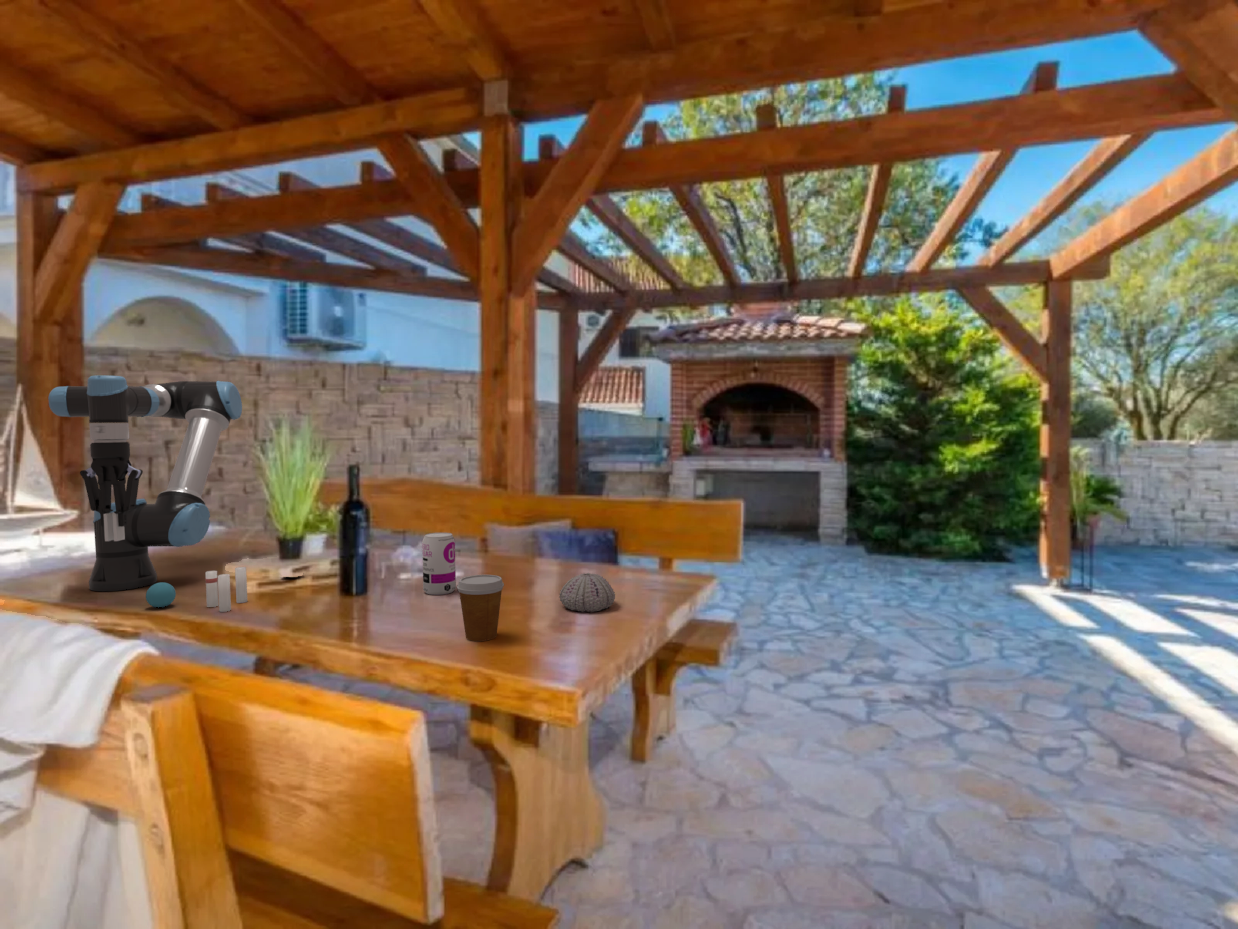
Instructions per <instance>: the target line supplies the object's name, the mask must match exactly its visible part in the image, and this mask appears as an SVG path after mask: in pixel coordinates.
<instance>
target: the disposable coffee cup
mask: <svg viewBox="0 0 1238 929" xmlns="http://www.w3.org/2000/svg"><path fill="white" fill-rule="evenodd" d="M504 586H505V584H504V582H503V578H502V577H501V576H499V575H494V574H475V575H469V576H468V575H467V576H464V577H461V578H460V579H458V584H456V589H457V591H458V592H459V599H460V606H461V612H462V613H461V614H462V620H463V627H464V634H465V638H466V639H467V640H468V641H471V642H485V641H492V640H493V639H495V638H496V637H497V636H498V629H499V628H498V627H499V618H500V609H501V601H502V600H501V599H502V591H503V589H504Z"/></svg>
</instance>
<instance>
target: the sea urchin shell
mask: <svg viewBox="0 0 1238 929" xmlns="http://www.w3.org/2000/svg"><path fill="white" fill-rule="evenodd" d="M558 598H559V601H560V602H561V604H562V606H563V605H564V607H565V608H566V609H568V610H570V611H573V612H582V613H584V612H588V613H593V612H599V611H602V610H605V609H609V607H611V606H612V605H613V604H614V602H615V599H616V593H615V591H614V588H613V587H612V585H611V584H610V583H609V581H608V580H607V578H604V577H603V576H602V575H600V574H598V573H589V572H587V573H585V572H583V573H580V574H578V575H574V576H573V577H571V578H570V579H569V580H567V582H566V583H565V584H564V585H563V586H562V589H560V592H559V597H558Z"/></svg>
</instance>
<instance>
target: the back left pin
mask: <svg viewBox="0 0 1238 929" xmlns="http://www.w3.org/2000/svg"><path fill="white" fill-rule="evenodd" d="M234 571H235V572H234V576H235V596H236V598H235V599H236V604H244V603H248V588H247V587H248V579H247V567H246V566H238V567H235V568H234Z"/></svg>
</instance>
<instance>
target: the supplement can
mask: <svg viewBox="0 0 1238 929" xmlns="http://www.w3.org/2000/svg"><path fill="white" fill-rule="evenodd" d="M421 545H422V546H421V548H422V549H421V550H422V551H421V552H422V554H421V555H422V587H423V588H422V590H423V592H425V594H426V595H427V594H428V595H430V596H441V595H448V594H451V593H453V592H454V590H456V589H457V584H456V581H457V580H456V579H457V578H456V574H457V573H456V570H457V569H456V540H455V538H454V536H453V533H451V532H432V533H431V532H430V533H427V534H425V535H424V537H423V539H422V540H421Z"/></svg>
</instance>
